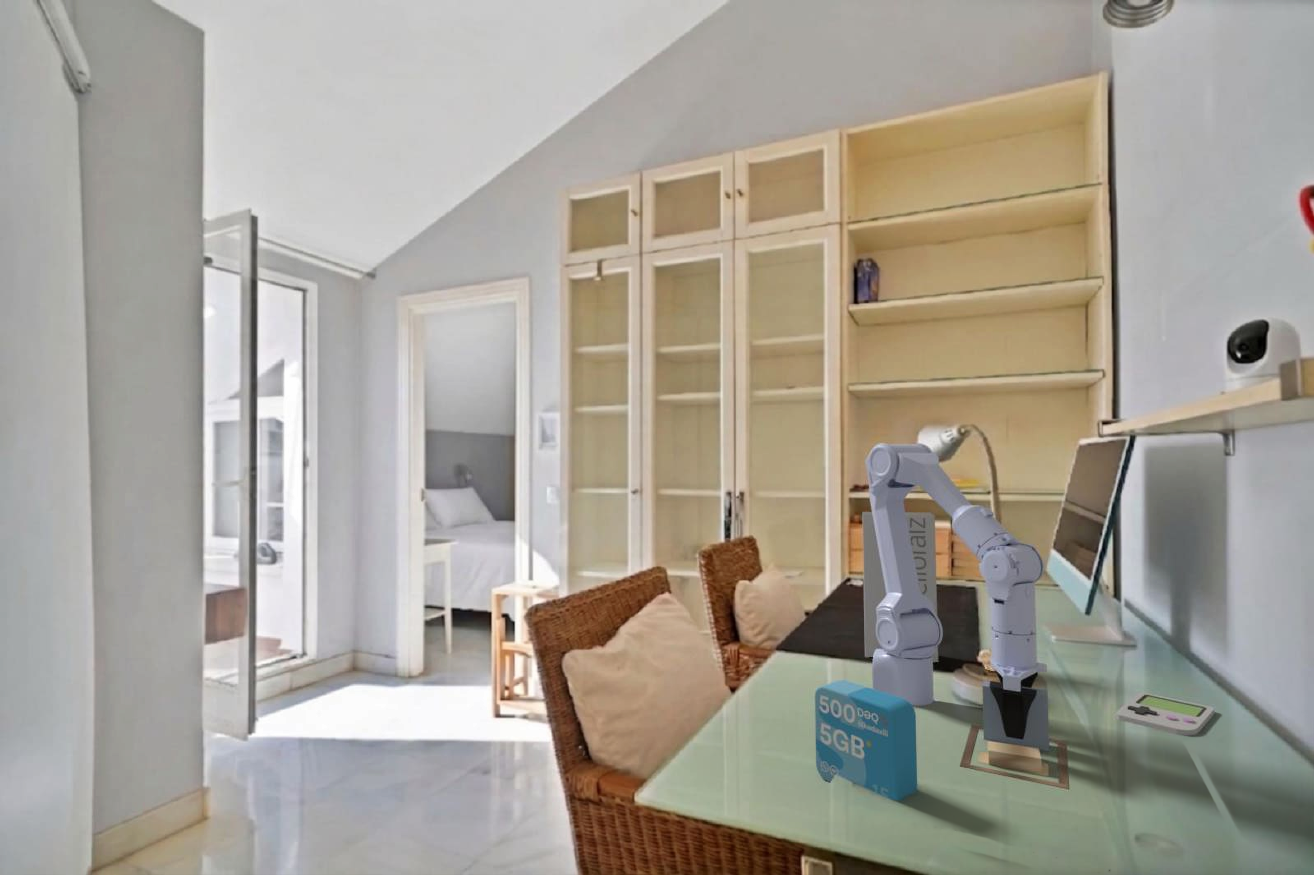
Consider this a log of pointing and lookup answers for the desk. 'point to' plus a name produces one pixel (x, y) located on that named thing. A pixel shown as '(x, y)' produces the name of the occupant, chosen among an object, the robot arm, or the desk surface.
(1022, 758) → the upper offcut
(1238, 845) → the desk surface
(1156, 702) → the handheld gaming console
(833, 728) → the data package
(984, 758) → the lower offcut
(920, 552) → the grey lettered box
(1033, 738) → the slate sheet
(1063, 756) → the walnut frame
